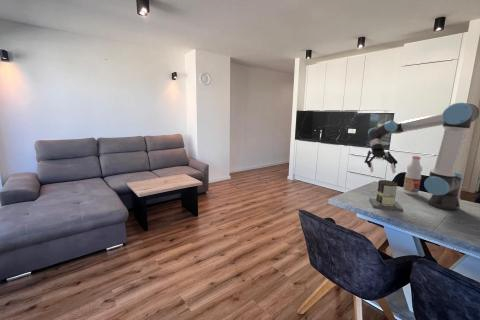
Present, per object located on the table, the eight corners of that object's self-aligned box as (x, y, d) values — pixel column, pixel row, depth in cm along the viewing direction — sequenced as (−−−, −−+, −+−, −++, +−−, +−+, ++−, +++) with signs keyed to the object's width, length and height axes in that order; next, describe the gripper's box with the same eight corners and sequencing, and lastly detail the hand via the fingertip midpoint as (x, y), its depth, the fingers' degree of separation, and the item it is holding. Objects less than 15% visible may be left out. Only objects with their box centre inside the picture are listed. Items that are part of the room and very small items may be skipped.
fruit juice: (404, 190, 182) (409, 155, 176) (418, 193, 175) (425, 156, 170) (401, 192, 175) (407, 156, 170) (416, 196, 169) (423, 158, 163)
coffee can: (372, 202, 151) (375, 181, 148) (379, 199, 157) (382, 179, 154) (390, 207, 143) (393, 185, 140) (397, 203, 149) (400, 182, 146)
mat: (396, 203, 154) (396, 201, 154) (402, 211, 141) (403, 209, 141) (369, 200, 159) (369, 197, 159) (373, 207, 146) (373, 205, 146)
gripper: (393, 150, 168) (400, 175, 156) (356, 148, 172) (361, 173, 160) (398, 143, 161) (406, 169, 150) (360, 142, 165) (365, 167, 154)
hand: (383, 171), depth 155 cm, fingers open, 13 cm apart
